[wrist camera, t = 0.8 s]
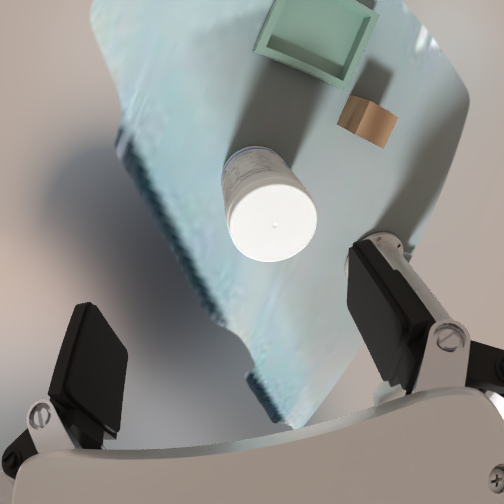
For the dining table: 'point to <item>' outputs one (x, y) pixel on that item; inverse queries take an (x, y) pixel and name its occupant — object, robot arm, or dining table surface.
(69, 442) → the robot arm
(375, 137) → the walnut block
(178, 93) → the dining table surface
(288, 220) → the supplement tub
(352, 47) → the rest tray
